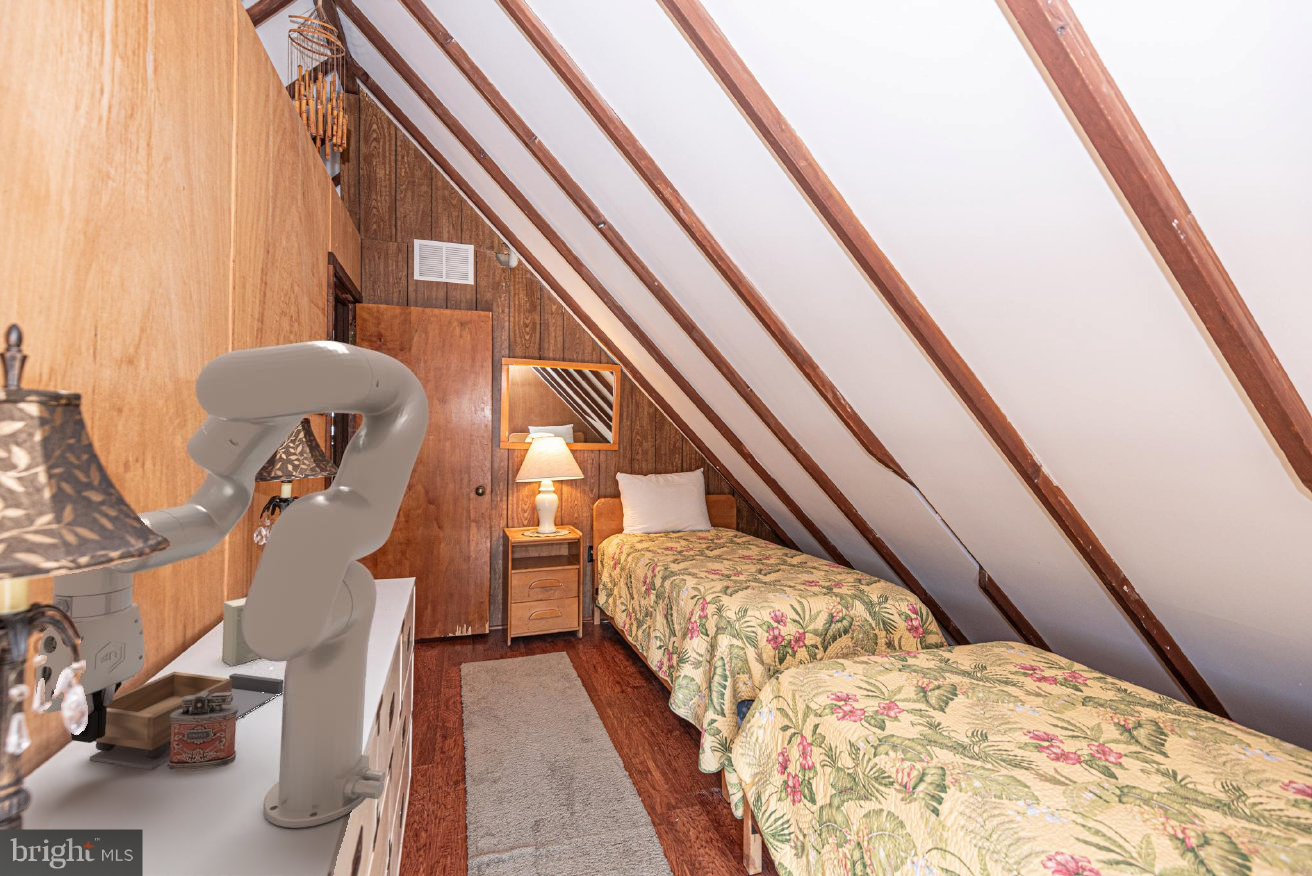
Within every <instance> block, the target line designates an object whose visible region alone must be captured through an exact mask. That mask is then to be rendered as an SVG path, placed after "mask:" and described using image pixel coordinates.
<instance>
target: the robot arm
mask: <svg viewBox="0 0 1312 876" xmlns="http://www.w3.org/2000/svg"><path fill="white" fill-rule="evenodd" d="M195 396H196V399H197V401H198V404H199V405H200V407H201V409H202V410H203V411H205V413H207V414H208V415H209V416H208V417H207V418H206V419H205V421H204V422H203V423H202V424H201V425H200V426H199V427H198V429H197V430H196V431H195V432H194V433H193V434H192V435H191V436H190V438H189V439H188V441H187V445H186V450H187V454H188V456H189V457H190V459H191V460H192V461H193V462H194V463H195V464H196V465H197V466H199V468H200V469H202V470H203V471H205V472H206V473H207V475H206V477H205V479H204V480H203V482H202V483H201V485H200V486H199V487H198V488H197V490H196V491H195V492H194V493H193V495H191V497H190V498H189V499H188V500H187V501H186V502H185V503H184V504H183V505H180V506H172V507H168V508H167V507H166V508H161V509H155V510H151V511H145V512H139V513H136V514H137V515H138V516H139V517H140V518H141V520H142V521H143V522H144V523H145V525H147V526H148V527H149V528H150V529H152V530H153V531H154V532H156V533H159V534H160V535H163V536H164V537H166V538H167V539H168V540H169V541H170V547H169V548H168V549H166V550H164V551H161V552H159V553H155V554H154V555H150V556H148V557H145V558H140V559H138V560H132V561H129V562H123V563H121V564H116V565H113V566H109V567H103V568H100V569H92V570H88V571H82V572H79V573H72V574H65V575H61V576H54V575H53V594H52V603H50V604H49V605H54V606H56V607H59V608H61V609H62V610H64V611H65V612H66V613H67V614H68V615H69V616H70V618H71V619H72V621H74V624H75V626H77V629H78V630H79V633H80V635H81V643H80V652H81V658H82V659H84V660H86V670H85V671H84V673H81V676H80V679H79V683H81V685H82V686H83V688H84V693H85V696H86V701H87V705H88V724H87V726H86V728H85V730H84V731H82V732H81V733H80V734H79V735H74V734H72V733H71V732H70V736H71V737H70V738H71V739H72V741H74V742H81V743H88V744H91V743H93V742H96V741H95V740H96V739H97V738H98V739H100V738H102V737H104V736H105V729H106V713H107V706H109V705H110V704H111V703H112V701H113V698H114V696H115V694H116V693H117V691H118V690H119V689H120V687H121V686H123V685H125V684H126V683H128V682H129V681H132V680H133V679H134V678H135V677H136V676H137V675H138V674H139V673H140V672H141V671H143V668H144V665H145V633H144V625H143V619H142V614H141V610H140V608H139V605H138V604H137V603H134V602H133V584H134V574H138V573H144V572H148V571H151V570H154V569H155V570H156V569H158V568H163V567H165V566H168V565H171V564H175V563H178V562H181V561H185V560H189V559H194V558H196V557H200V556H202V555H204V554H206V553H208V552H209V551H211V550H212V549H214V548H215V547H217V545H219V544H220V543H221V542H222V541H223V540H224V539H225V538H226V537H227V536H228V535H229V533H230V532H231V531H232V530H233V529H234V528H235V527H236V525H237V524H238V523H239V521H240V520H242V518H243V517H244V516H245V514H246V513H247V511H248V510H249V507H250V506H251V504H252V500H253V495H254V492H255V488H256V476H257V474H258V473H259V472H260V470H261V469H262V467H264V465H265V464H266V463H267V462H268V460H270V458H271V457H272V456H273V455H274V454H275V452H276V451H277V450H278V449H279V448H280V447H281V445H282V444H283V443H284V442H285V441H286V440H287V438H288V437H289V436H291V434H292V433H293V431H294V430H295V429H296V428H297V427H298V426H299V424H301V422H302V421H303V420H304V419H305V417H306V416H307V415H315V414H328V413H329V414H332V413H335V414H338V413H339V414H361V416H362V420H361V421H362V422H361V424H360V426H359V427H358V429H357V431H356V432H355V433H354V434H353V436H352V437H351V439H350V440H349V442H348V444H347V445H346V447H345V450H344V453H343V456H342V459H341V462H340V465H339V468H338V470H337V473H336V475H335V477H334V480H333V481H332V483H331V484H330V486H329V487H328V488H327V489H325V490H319V491H315V492H311V493H308V494H306V495H303V496H301V497H299V498H297V499H295V500H294V501H293V502H291V503H290V504H289V505H287V506H286V508H284V510H283V511H282V512H280V514H279V515H278V517H277V519H276V520H275V522H274V524H273V525H272V528H271V530H270V532H269V535H268V537H267V539H266V543H265V545H264V547H263V550H262V553H261V556H260V559H259V562H258V564H257V567H256V570H255V573H254V575H253V578H252V581H251V584H250V587H249V589H248V592H247V595H246V597H247V598H246V601H245V604H244V608H243V613H242V632H243V636H244V639H245V642H246V644H247V645H248V647H249V648H250V650H251V651H252V652H253V653H254V654H256V655H257V656H259V657H261V658H260V659H263V660H265V661H269V662H276V663H279V662H285V668H284V676H283V694H282V710H281V711H282V714H281V732H280V733H281V736H280V750H279V751H280V756H279V775H278V781H277V782H276V783H275V784H274V785H273V786H272V787H271V788H270V789H269V790H268V791H267V792H266V795H265V797H264V800H263V815H264V817H265V818H266V820H267V821H268V822H270V823H271V824H274V825H275V826H281V827H284V828H291V829H292V828H295V829H296V828H308V827H313V826H314V827H315V826H318V825H323V824H326V823H329V822H331V821H334V820H337V819H339V818H341V817H343V816H345V815H347V814H349V813H351V812H352V811H353V810H355V809H356V808H357V807H359V806H361V804H363V803H364V801H365V800H366V799H373V800H379V798H381V796H382V795H383V792H384V788H385V783H384V781H385V779H386V777H387V774H386V773H387V772H385V771H380V770H375V771H374V770H371V768H370V755H365V754H363V742H364V741H363V740H364V724H365V723H364V721H365V702H366V699H365V698H366V682H367V680H366V679H367V668H368V667H367V666H368V652H369V645H370V644H369V641H370V635H371V630H372V625H373V622H374V621H373V620H374V615H375V611H376V607H377V606H376V604H377V596H378V595H377V585H376V581H375V578H374V576H373V574H372V573H371V571H370V570H369V569H368V568H367V567H366V565H364V564H363V563H361V562H360V561H358V560H360V559H362V558H364V557H367V556H369V555H370V554H373V553H374V552H376V551H377V550H379V549H380V548H382V547H383V545H385V544H386V543H387V540H388V539H389V537H390V535H391V533H392V530H393V527H394V524H395V522H396V519H397V517H398V513H399V509H400V507H401V504H402V502H403V498H404V497H405V496H404V495H405V493H406V490H407V487H408V484H409V483H410V482H409V481H410V479H411V475H412V471H413V469H414V465H415V463H416V461H417V458H418V455H419V453H420V450H421V447H422V445H423V443H424V439H425V436H426V433H427V429H428V425H429V418H430V417H429V416H430V415H429V414H430V410H429V401H428V397H427V393H426V392H425V388H424V387H423V385H422V383H421V381H420V380H419V378H418V377H417V376H416V375H415V373H414V372H412V370H411V369H410V368H408V367H407V366H406V365H405V364H404V363H402V362H401V361H399V359H396V358H394V357H392V356H390V355H388V354H385V353H383V352H380V351H376V350H373V349H368V348H365V347H364V348H363V347H361V346H356V345H353V344H349V343H345V342H339V341H335V340H311V341H303V342H302V341H301V342H295V343H289V344H282V345H273V346H263V347H255V348H247V349H239V350H233V351H232V350H231V351H229V352H226V353H223V354H220V355H218V356H216V357H215V358H213V359H212V360H211V361H209V362H207V364H206V365H205V366H203V368H202V369H201V371H200V373H199V374H198V376H197V379H196V382H195ZM40 655H46V656H47V660H46V662H45V663H44V664H42V665H40V666H38V667H37V666H36V670H35V673H36V674H35V692H36V694H37V687H38V682H39V681H40V679H41V678H44V680H45V692H44V694H45V702H49V701H52V705H51V706H50V707H49V708H48V709H47V710H43V711H42V713H55V712H59V711H62V710H61V703H62V701H63V698H64V693H63V692H61V693H60V694H59V695H58V697H56V699H52V695H53V694H54V690H55V689H56V684H57V681H58V678H59V675H60V674H61V672H62V671H63V669H65V668H66V667H69V666H70V665H72V653H71V652H70V649H68V648H66V646H65V645H64V644H63V642H62V640H61V637H60V636H59V635H58V633H57V632H56V631H55V630H54V629H53V628H52V627H49V628H47V630H45V631H44V630H43V633H42V638H41V641H40V644H39V650H38V655H37V657H38V656H40Z"/></svg>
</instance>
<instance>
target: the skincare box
mask: <svg viewBox="0 0 1312 876" xmlns="http://www.w3.org/2000/svg"><path fill="white" fill-rule="evenodd" d="M246 598H247V596H246V597H241V598H237V599H232V600H228V601H224V602H223V618H222V619H223V625H222V651H221V652H222V656H221V661H222V662H224V663H225V664H227V665H228V666H230V667H235V666H238V665H242V664H245V663H247V662H251V660H252V661H255V660H258V659H262V658H261V657H259V656H257V655H256V654H254V653H253V652H252V651H251V650H250V648H249V647H248V645H247V644H246V642H245V639H244V636H243V632H242V613H243V608H244V604H245V601H246ZM234 665H235V666H234Z"/></svg>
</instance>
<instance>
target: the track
mask: <svg viewBox="0 0 1312 876" xmlns="http://www.w3.org/2000/svg"><path fill="white" fill-rule="evenodd" d="M228 676H229V678H228V679H232V693H233V701H232V702H231V705H235V706H238V713H237V715H236V719H238V718H239V717H241V716H243V715H245V714H246V713H248V712H250V711H251V710H253V709H254V708H256V707H258V706H260V705H262V704H263V703H265V702H266V701H268V700H270V699H271V698H272V697H275V696H276V694H280V693H282V692H283V688H284V679H281V678H272V677H267V676H265V677H264V676H258V675H250V674H243V673H232V674H230V675H228ZM262 692H264V693H262ZM276 697H277V696H276ZM265 704H266V703H265ZM262 706H263V705H262ZM260 707H261V706H260ZM258 708H259V707H258ZM253 711H254V710H253ZM250 713H251V712H250ZM248 714H249V713H248ZM246 715H247V714H246ZM246 715H245V716H246ZM243 717H244V716H243ZM241 718H242V717H241ZM239 719H240V718H239ZM239 719H238V720H239ZM167 743H168V746H167V749H166V751H165V752H164V754H163V755H162V756H161V757H159V758H157V759H152V758H147V757H146V756H145V749H142V748H135V747H128V746H122V745H116V746H115V747H114V748H113V749H112V750H110V751H101V750H99V751H98V752H96V753H94V754H92V755H91V756H89V761H93V762H100V763H106V764H111V763H115V764H114V765H118V764H119V766H125V767H132V768H137V769H138V768H139V769H145V770H149V769H150V770H154V769H155V768H157V767H159V766H160V765H162V764H164V763H166V762H168V761H169V759H170V747H171V740H169V741H167ZM150 770H149V771H150Z"/></svg>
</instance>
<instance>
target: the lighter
mask: <svg viewBox="0 0 1312 876" xmlns="http://www.w3.org/2000/svg"><path fill="white" fill-rule="evenodd" d="M232 701H233V693H231V692H224V693H214V694H210V692H208V691H203V692H201V693H200V694H199V695H190V696H184V697H183V698H182V699H181V706H182V709H179V710H177V711H174V712H173V713H171V715H170V722H172V724H171V747H170V759H169V760H167V769H168V770H170V771H193V770H195V771H197V770H202V769H203V770H204V769H212V768H216V767H217V768H218V767H224V766H227V765H230V764H231V763H233V762H234V761H235V760H236V759H237V750H236V749H235V748H236V728H237V720H236V715H237V713H238V706H235V705H222V704H228V703H231V702H232ZM214 704H216V705H214ZM190 706H192V707H191V708H190Z"/></svg>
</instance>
